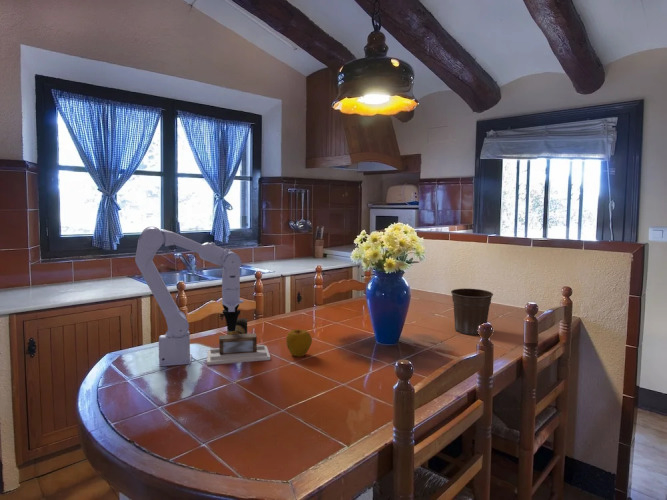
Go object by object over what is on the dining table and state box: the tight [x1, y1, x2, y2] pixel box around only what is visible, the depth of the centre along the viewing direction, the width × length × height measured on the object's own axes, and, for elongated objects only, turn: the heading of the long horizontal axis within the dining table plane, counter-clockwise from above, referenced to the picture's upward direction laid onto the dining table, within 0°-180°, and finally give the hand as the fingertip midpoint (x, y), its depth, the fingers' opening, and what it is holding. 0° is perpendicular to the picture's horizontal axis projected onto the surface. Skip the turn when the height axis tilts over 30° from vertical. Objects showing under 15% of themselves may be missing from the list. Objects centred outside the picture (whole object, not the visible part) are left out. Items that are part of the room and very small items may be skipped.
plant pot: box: [450, 288, 494, 336], centre depth 181 cm, size 16×16×16 cm
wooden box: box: [218, 332, 258, 355], centre depth 148 cm, size 12×4×6 cm, turn 105°
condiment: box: [226, 317, 248, 335], centre depth 158 cm, size 7×8×12 cm
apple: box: [285, 328, 313, 358], centre depth 151 cm, size 8×8×9 cm
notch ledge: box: [206, 344, 271, 366], centre depth 149 cm, size 20×11×2 cm, turn 105°
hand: (231, 327), depth 150 cm, fingers open, 7 cm apart
